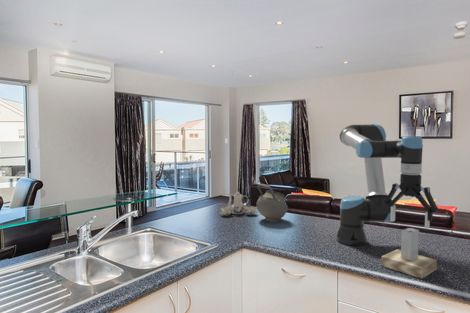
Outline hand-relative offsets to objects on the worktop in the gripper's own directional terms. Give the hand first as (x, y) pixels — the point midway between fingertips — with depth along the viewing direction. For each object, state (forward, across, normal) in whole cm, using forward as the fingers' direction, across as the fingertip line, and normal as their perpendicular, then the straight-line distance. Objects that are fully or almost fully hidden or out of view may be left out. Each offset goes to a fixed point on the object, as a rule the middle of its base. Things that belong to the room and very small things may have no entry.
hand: (409, 224), depth 130 cm
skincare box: (+14, +1, 0) cm, 14 cm away
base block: (+18, 0, 0) cm, 18 cm away
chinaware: (+20, -119, +2) cm, 121 cm away
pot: (+19, -91, +9) cm, 93 cm away
